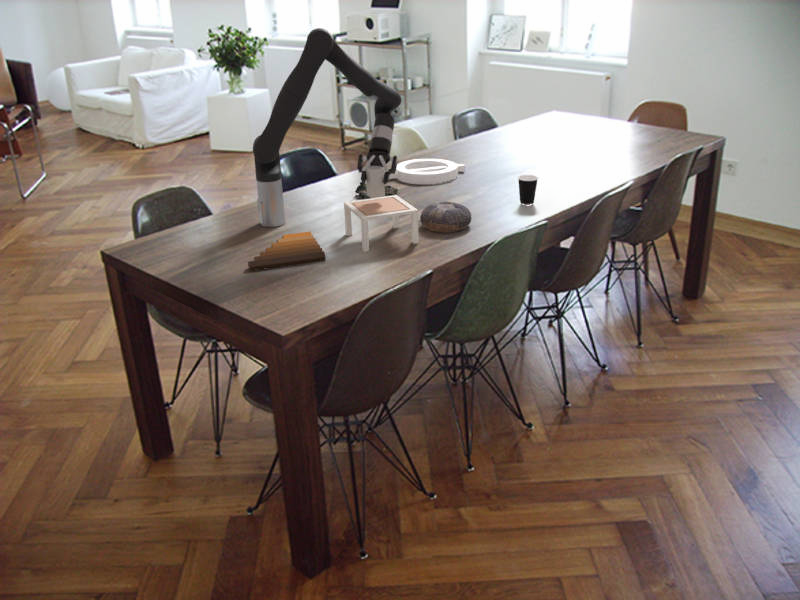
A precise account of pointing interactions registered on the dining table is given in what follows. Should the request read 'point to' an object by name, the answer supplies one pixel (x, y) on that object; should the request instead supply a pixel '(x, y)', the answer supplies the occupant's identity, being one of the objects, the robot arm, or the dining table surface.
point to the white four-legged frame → (395, 217)
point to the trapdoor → (379, 206)
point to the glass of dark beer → (527, 188)
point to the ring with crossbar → (426, 171)
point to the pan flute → (289, 252)
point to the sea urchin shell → (445, 217)
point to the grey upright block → (375, 181)
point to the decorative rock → (362, 190)
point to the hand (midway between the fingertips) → (374, 182)
